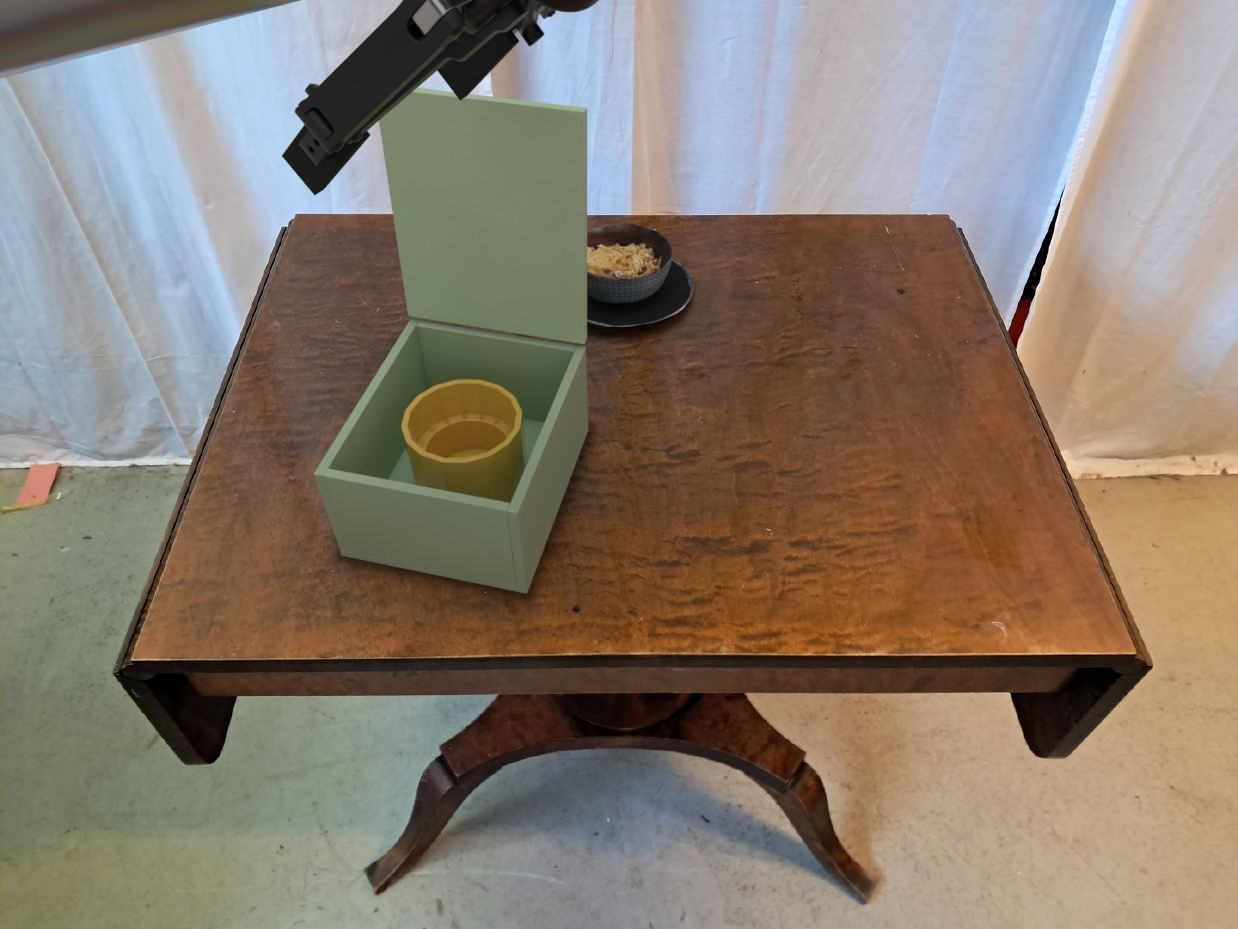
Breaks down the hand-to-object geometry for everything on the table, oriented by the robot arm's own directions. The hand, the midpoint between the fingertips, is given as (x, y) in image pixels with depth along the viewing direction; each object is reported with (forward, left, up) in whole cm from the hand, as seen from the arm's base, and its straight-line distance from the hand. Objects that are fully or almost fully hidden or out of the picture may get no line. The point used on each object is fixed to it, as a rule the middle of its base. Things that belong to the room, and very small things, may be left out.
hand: (381, 123), depth 58 cm
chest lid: (+9, +3, -13) cm, 16 cm away
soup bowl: (+29, +9, -33) cm, 44 cm away
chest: (+1, -2, -32) cm, 33 cm away
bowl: (+1, -2, -32) cm, 32 cm away
